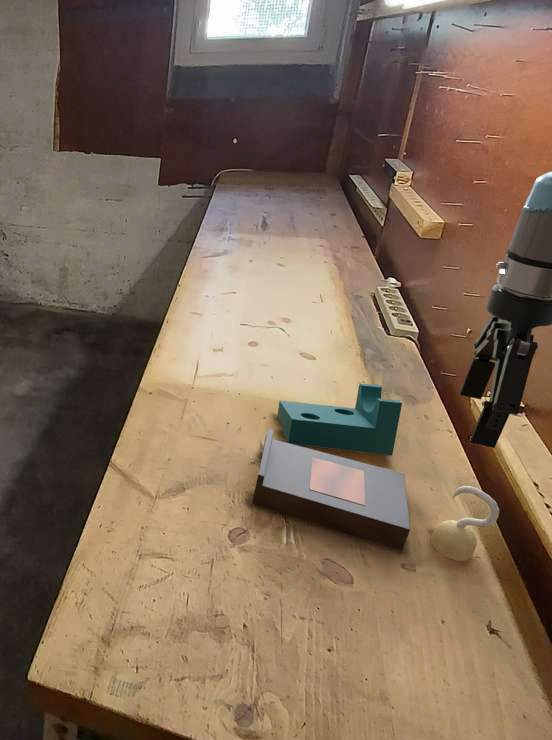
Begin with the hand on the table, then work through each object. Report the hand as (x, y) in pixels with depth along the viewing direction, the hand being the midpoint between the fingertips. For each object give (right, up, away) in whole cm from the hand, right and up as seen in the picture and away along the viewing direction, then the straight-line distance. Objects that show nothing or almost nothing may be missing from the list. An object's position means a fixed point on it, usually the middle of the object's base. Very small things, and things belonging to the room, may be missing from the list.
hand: (475, 418), depth 85 cm
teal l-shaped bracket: (-6, -8, +28) cm, 30 cm away
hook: (-2, -21, +2) cm, 21 cm away
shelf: (-16, -16, +13) cm, 26 cm away
